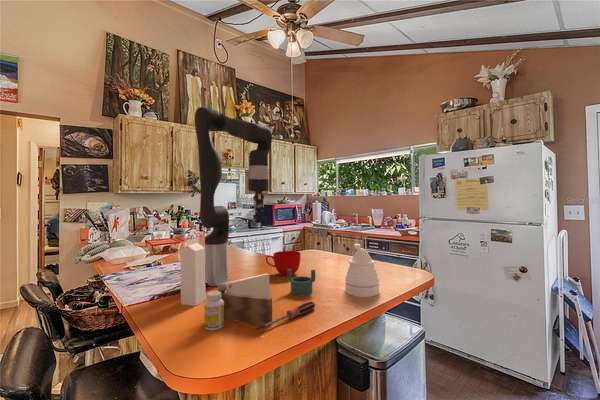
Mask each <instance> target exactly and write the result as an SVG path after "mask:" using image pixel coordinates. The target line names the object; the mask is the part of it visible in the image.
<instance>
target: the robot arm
mask: <svg viewBox="0 0 600 400" xmlns="http://www.w3.org/2000/svg"><path fill="white" fill-rule="evenodd" d="M194 127H195V133H196V140H197V149H198V168H199V169H198V170H199V171H198V172H199V182H200V186H199V187H200V201H199V202H200V204H199V218H200V223H201V225H202V226H203V228H205V229H212V231H211V232H210V234H208V235H207V236H205V237H204V248H205V281H206V282H207V283H208V285H209V286H211V287H213V286H214V287H215V286H217V284H219V283H227V282H228V237H229V233H230V230H229V229H230V215H229V210H228V209H227V207H226V206H224V205H215V193H216V190H217V188H218V186H219V183H220V182H221V179H222V176H223V172H222V171H223V170H222V169H223V167H222V159H221V157H220V155H219V153H218V151H217V150H216V148H215V146H214V145H213V143H212V141H211V136H210V132H220V133H221V132H223V133H227V134H228V135H230V136H232V137H234V138H238V139H241V140H243V141H245V142H247V143H251V144H257V146H256V148H255V149H253V150H250V152H249V154H248V177H247V178H248V179H247V180H248V181H247V182H248V184H247V185H248V186H247V187H248V188H247V189H248V191H249V192H254V195H252V201H253V208H254V220H255V223H256V224H262V223H263V212H264V206H265V204H264V201H265V196H264V194H263V192H268V191H269V190H270V189H269V187H270V186H269V185H270V184H269V182H270V181H269V180H270V179H269V178H270V177H269V176H270V175H269V174H270V172H269V153H270V149H271V146H272V141H273V133H272V130H271V129H270V127H268V126H265V125H262V124H259V123H255V122H250V121H247V120H243V119H239V118H232V117H229V116H226V115H225V114H223V113H221V112H220V111H218V110H216V109H213V108H208V107H203V106H199V107H198V108H197V109H196V111H195V113H194ZM208 285H207V286H208ZM209 286H208V287H209Z"/></svg>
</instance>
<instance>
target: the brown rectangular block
mask: <svg viewBox="0 0 600 400" xmlns="http://www.w3.org/2000/svg"><path fill="white" fill-rule="evenodd" d="M219 292H221V296H222V297H221V299H222V300H223V301H224V320H228V321H235V322H242V323H248V324H255V325H261V326H263V325H265V324H267V323H269V322H271V321H273V298H272V297H270V298H266V297H258V296H249V295H240V294H232V293H227V292H226V291H219ZM272 325H273V324H271V325H269V326H268V327H271V326H272Z"/></svg>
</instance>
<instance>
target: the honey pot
mask: <svg viewBox="0 0 600 400" xmlns="http://www.w3.org/2000/svg"><path fill="white" fill-rule="evenodd" d="M353 247H354V248H355V249H356V251H355V252H354V255H353V256H352V258H350V259H349V260H348V261H347V262H348V264H349V267H347V272H346V275H345V277H344V279H345V283H344V285H345V286H344V287H345V289H344V290H345V292H346V293H347V294H349V295H351V296H353V297H354V296H355V297H362V298H367V297H368V298H369V297H374V296H377V295H379V294H380V278H379V276H378V273H377V268H376V267H375V265H374V264H375V261H374V260H373V259H372V258H371V256H370V253H369V252H368V251H367V250H366V249H365V248H362V247H361V244H360V243H355V244H353Z"/></svg>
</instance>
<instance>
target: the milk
mask: <svg viewBox="0 0 600 400" xmlns="http://www.w3.org/2000/svg"><path fill="white" fill-rule="evenodd" d="M179 254H180V255H179V256H180V257H179V260H180V261H179V263H180V264H179V267H180V305H183V306H193V307H196V306H198V305H200V304H202V303H203V302H206V301H207V300H206V299H207V293H206V284H205V246H203V245H201V244H200V243H199V242H198V238H195V239H192V240H188V241H187V245H186V246H185V247H183V248H181V249H180V251H179Z"/></svg>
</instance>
